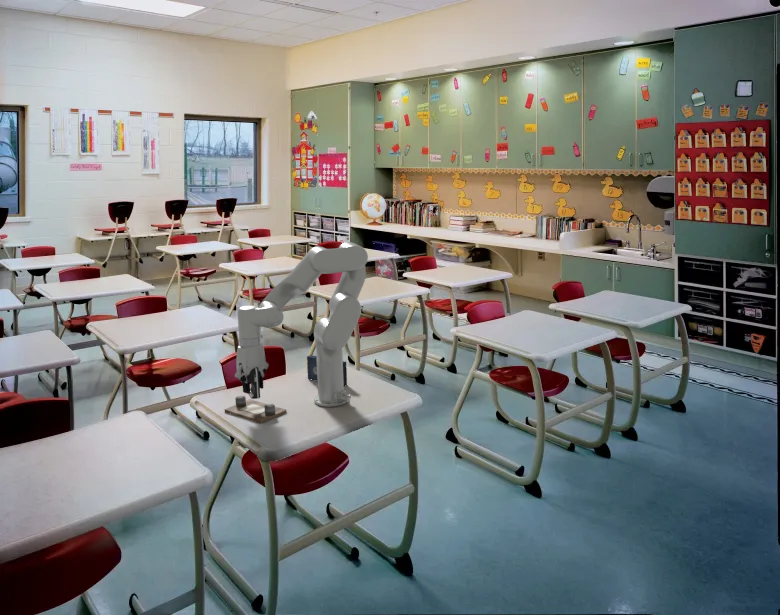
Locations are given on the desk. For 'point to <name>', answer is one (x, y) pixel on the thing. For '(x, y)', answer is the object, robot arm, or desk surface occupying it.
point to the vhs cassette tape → (313, 369)
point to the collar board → (254, 410)
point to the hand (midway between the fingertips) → (253, 389)
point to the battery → (254, 383)
